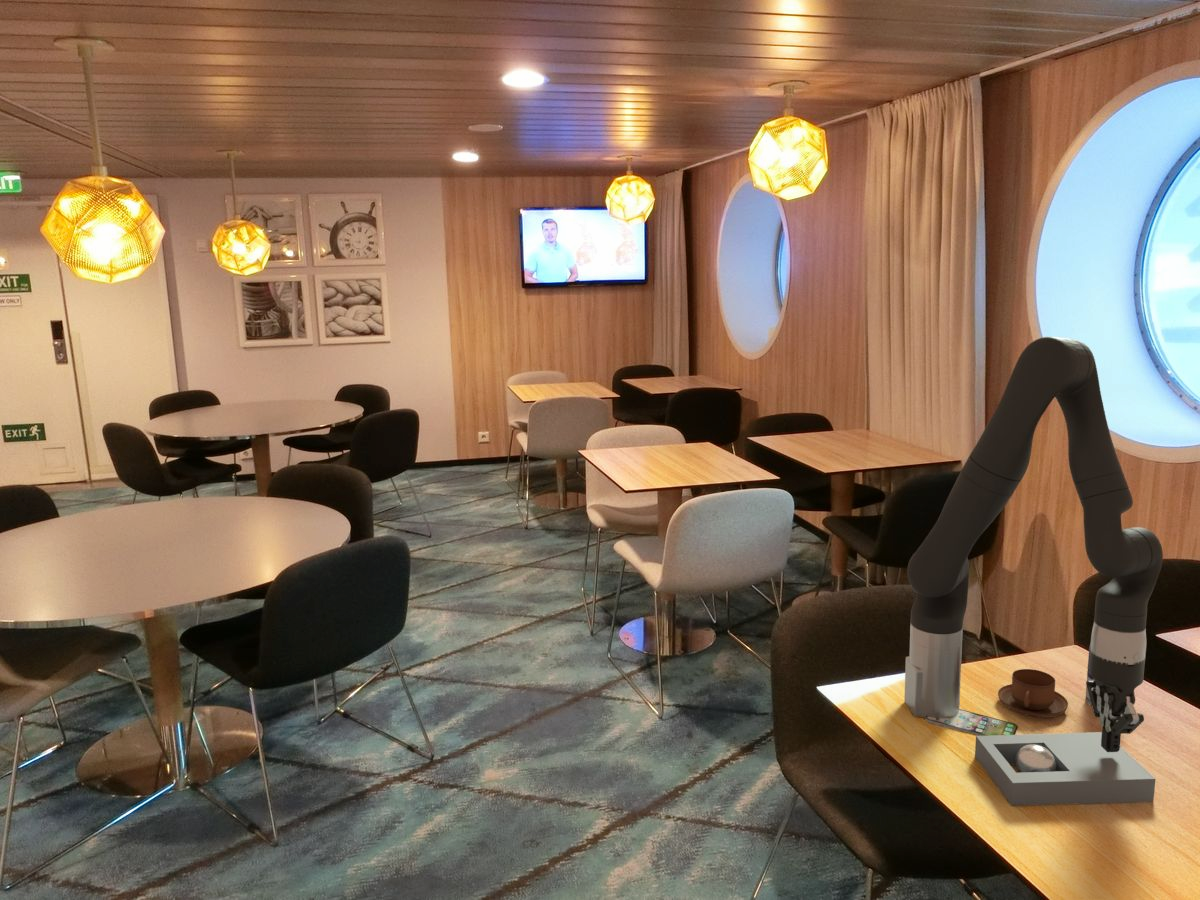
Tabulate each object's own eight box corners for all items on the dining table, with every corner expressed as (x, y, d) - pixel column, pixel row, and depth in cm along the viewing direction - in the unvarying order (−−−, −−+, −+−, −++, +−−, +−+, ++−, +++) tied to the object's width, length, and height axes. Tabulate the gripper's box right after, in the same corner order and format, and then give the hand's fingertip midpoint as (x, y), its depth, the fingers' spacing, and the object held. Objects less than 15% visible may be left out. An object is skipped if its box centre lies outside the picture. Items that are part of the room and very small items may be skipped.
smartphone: (1011, 742, 152) (924, 718, 160) (1011, 748, 152) (923, 724, 161) (1019, 724, 158) (934, 702, 166) (1018, 729, 158) (934, 707, 167)
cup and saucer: (1073, 726, 157) (1075, 695, 156) (1001, 718, 161) (1003, 688, 159) (1061, 696, 168) (1062, 666, 167) (994, 689, 172) (995, 661, 171)
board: (1103, 753, 148) (1105, 731, 147) (1153, 801, 134) (1155, 778, 133) (974, 756, 148) (975, 735, 148) (1011, 805, 135) (1012, 782, 134)
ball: (1055, 749, 137) (1069, 779, 138) (1035, 731, 143) (1049, 760, 144) (1020, 766, 137) (1035, 796, 138) (1002, 747, 143) (1017, 776, 144)
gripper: (1072, 634, 143) (1066, 729, 146) (1116, 670, 130) (1108, 773, 133) (1118, 633, 143) (1111, 728, 146) (1167, 668, 130) (1158, 772, 133)
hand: (1110, 749), depth 140 cm, fingers closed
